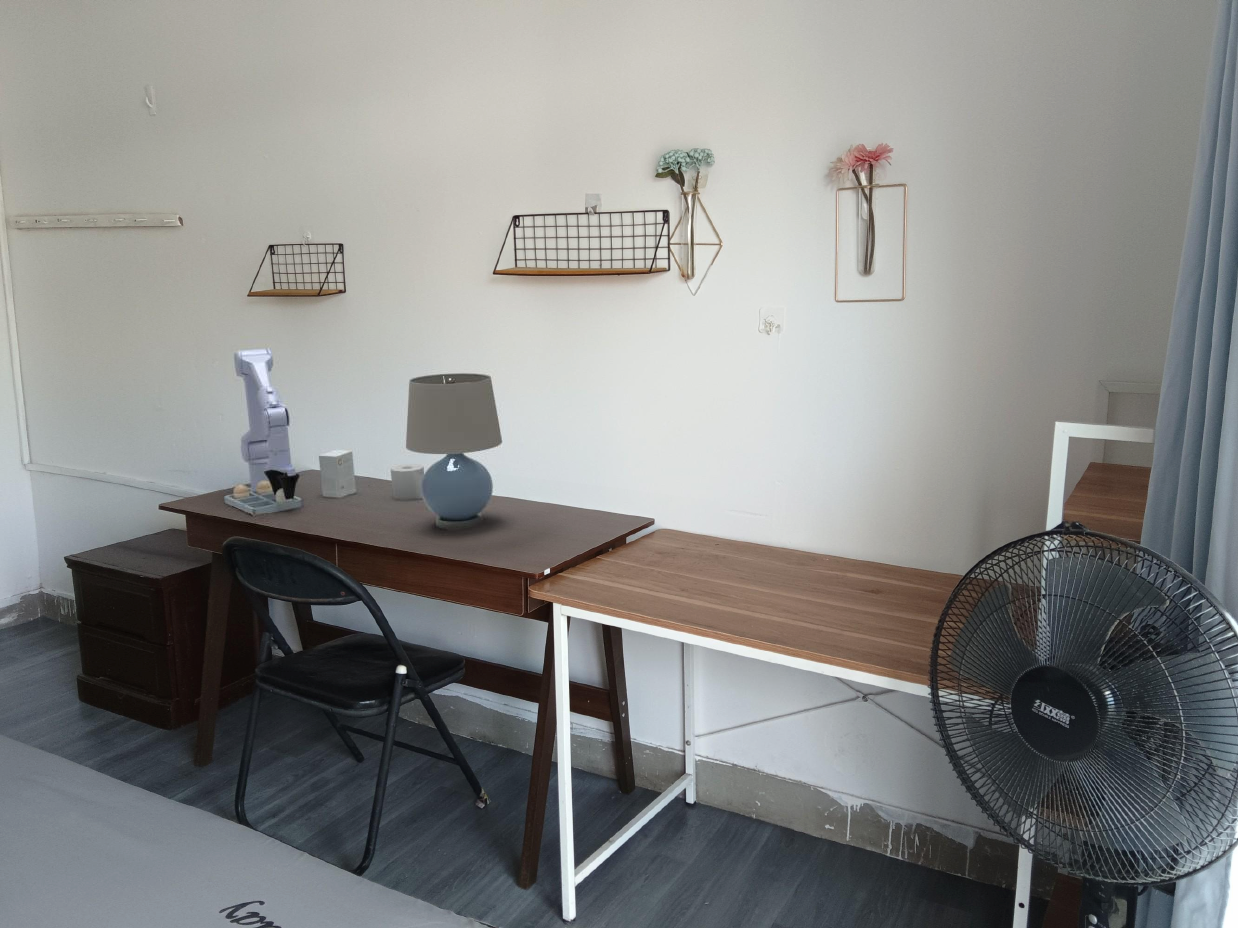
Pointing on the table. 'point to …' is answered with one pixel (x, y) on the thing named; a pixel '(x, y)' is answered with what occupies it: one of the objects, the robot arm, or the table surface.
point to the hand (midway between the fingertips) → (283, 496)
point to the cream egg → (281, 497)
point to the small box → (337, 473)
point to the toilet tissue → (407, 481)
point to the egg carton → (262, 503)
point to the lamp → (454, 443)
